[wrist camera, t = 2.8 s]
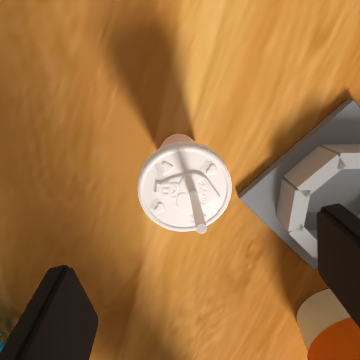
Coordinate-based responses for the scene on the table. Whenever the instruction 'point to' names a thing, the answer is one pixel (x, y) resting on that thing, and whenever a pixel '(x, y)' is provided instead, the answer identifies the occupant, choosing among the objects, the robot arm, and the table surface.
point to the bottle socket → (310, 181)
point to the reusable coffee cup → (328, 328)
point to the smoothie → (184, 185)
